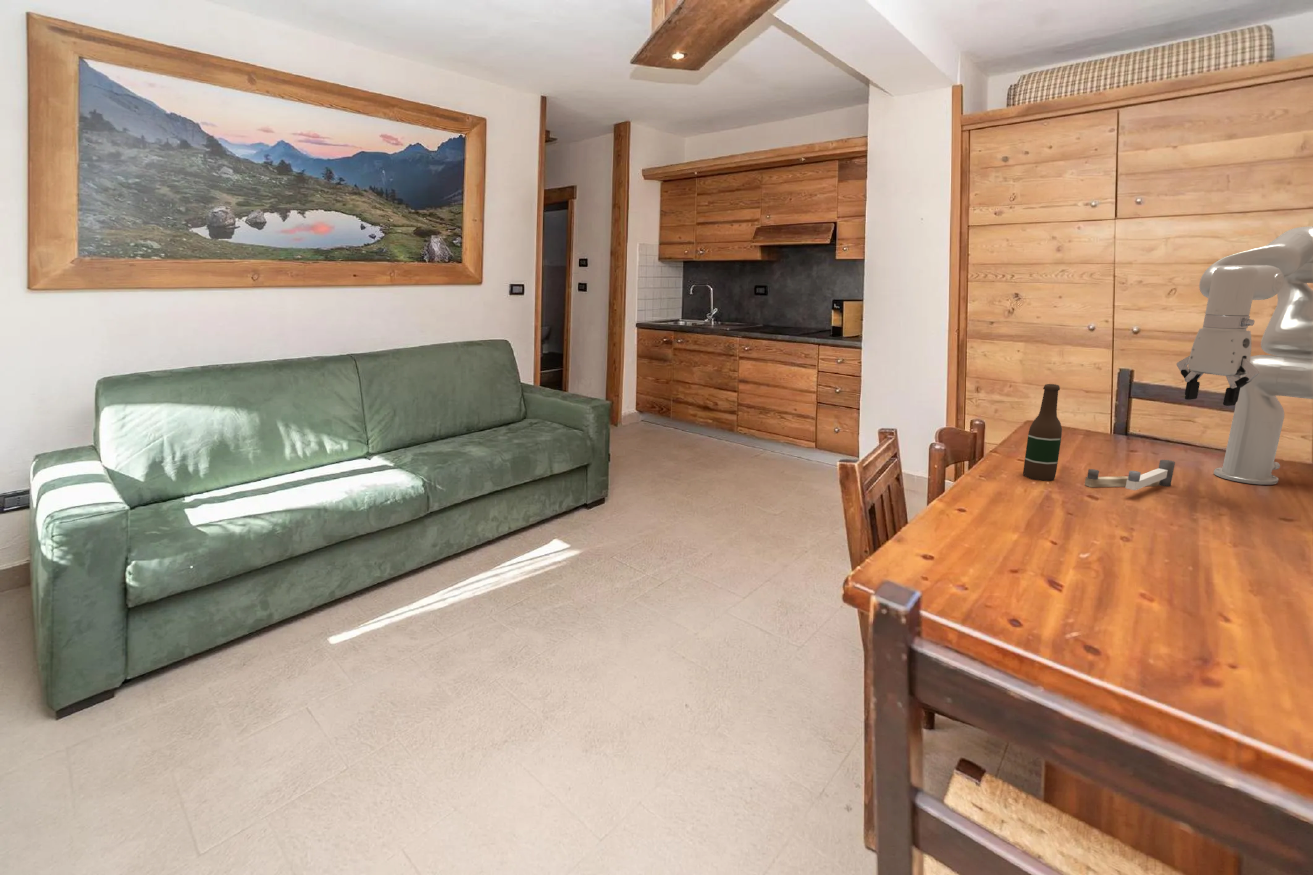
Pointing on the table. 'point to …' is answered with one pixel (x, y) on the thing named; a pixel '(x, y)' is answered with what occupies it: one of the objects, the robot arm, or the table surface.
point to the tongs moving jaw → (1144, 478)
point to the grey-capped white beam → (1120, 481)
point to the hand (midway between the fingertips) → (1209, 401)
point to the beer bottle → (1044, 439)
